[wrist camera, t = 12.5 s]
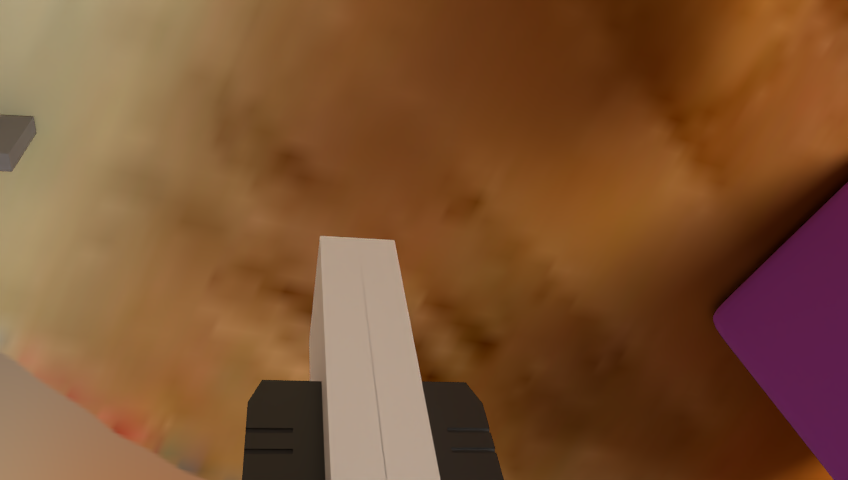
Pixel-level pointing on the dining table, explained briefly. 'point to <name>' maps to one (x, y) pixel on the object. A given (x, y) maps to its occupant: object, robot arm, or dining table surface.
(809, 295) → the shopping bag
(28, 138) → the bay box
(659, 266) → the dining table surface
